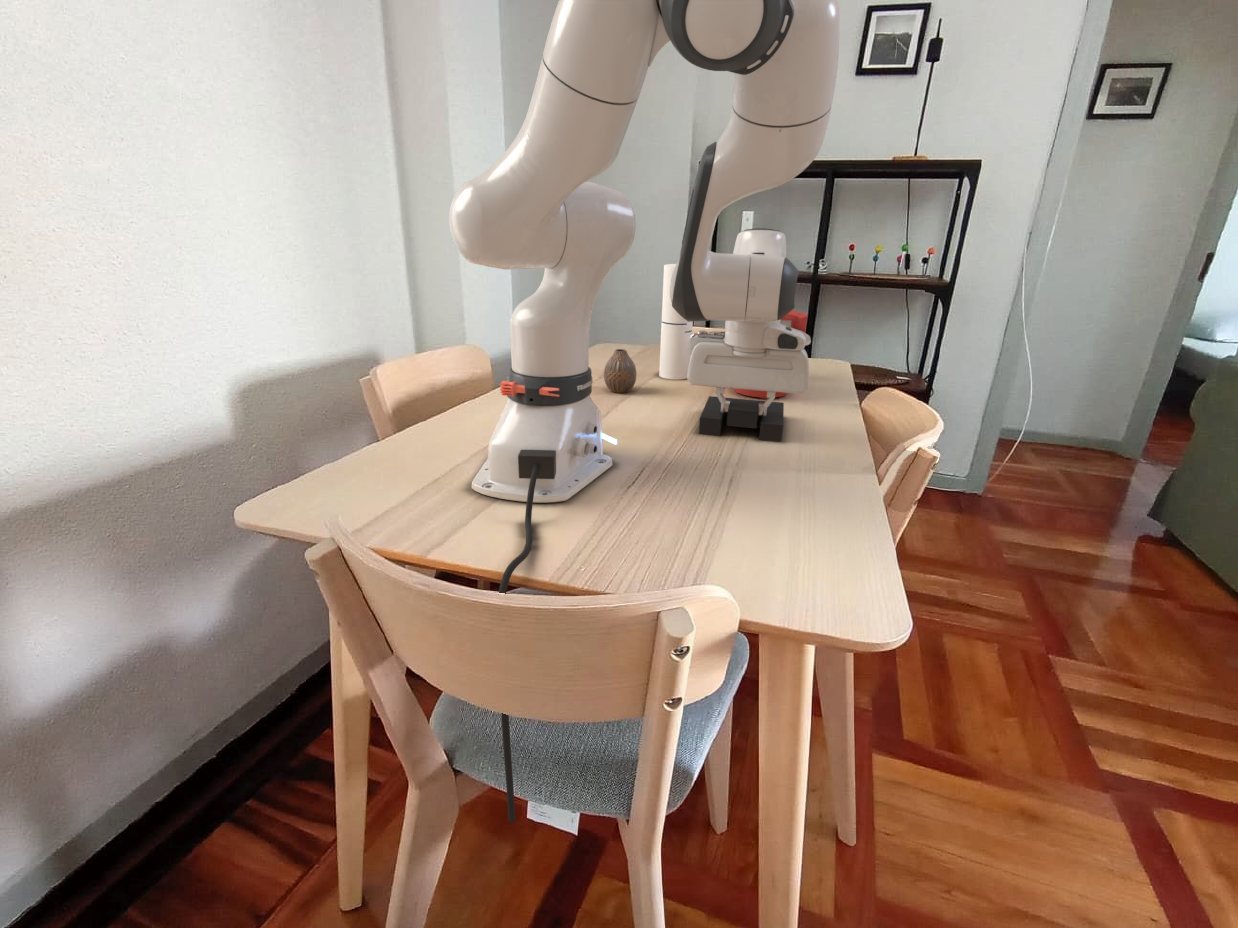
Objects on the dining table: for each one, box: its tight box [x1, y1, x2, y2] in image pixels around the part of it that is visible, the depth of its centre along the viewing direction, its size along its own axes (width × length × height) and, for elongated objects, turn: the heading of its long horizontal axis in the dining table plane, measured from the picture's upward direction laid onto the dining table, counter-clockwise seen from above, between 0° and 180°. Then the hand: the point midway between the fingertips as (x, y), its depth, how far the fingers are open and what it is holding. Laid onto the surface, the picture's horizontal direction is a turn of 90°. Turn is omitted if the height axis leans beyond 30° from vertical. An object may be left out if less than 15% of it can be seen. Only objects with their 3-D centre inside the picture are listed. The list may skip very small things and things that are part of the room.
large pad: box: [698, 395, 785, 443], centre depth 110 cm, size 14×14×3 cm
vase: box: [603, 348, 637, 394], centre depth 129 cm, size 7×7×9 cm
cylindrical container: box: [658, 263, 694, 381], centre depth 140 cm, size 7×7×25 cm
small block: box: [726, 400, 760, 429], centre depth 106 cm, size 6×5×3 cm
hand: (743, 413), depth 106 cm, fingers closed on small block, 5 cm apart
